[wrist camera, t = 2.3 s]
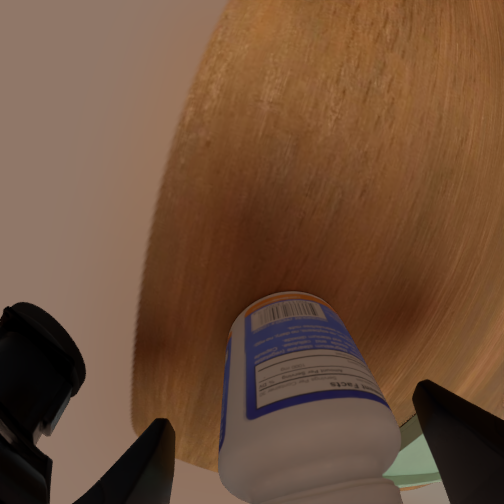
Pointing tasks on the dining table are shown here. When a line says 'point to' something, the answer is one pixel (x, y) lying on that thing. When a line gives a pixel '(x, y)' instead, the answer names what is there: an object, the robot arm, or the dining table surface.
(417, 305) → the dining table surface
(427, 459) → the tray
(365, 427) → the pill bottle
